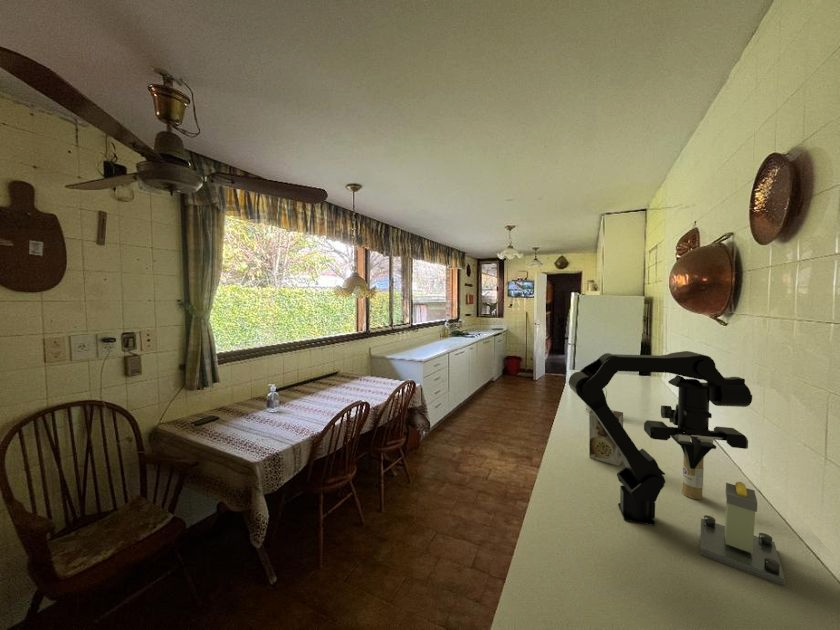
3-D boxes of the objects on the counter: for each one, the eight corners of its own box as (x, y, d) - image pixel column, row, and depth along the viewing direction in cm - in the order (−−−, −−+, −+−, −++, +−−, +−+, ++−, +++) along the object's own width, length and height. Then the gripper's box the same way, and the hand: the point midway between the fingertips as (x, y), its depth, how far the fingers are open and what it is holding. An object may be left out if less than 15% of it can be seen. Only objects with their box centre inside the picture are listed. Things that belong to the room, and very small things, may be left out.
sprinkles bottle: (677, 491, 92) (678, 444, 91) (692, 489, 92) (693, 443, 92) (692, 501, 88) (693, 451, 87) (707, 499, 88) (709, 450, 87)
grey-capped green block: (724, 543, 69) (727, 487, 69) (723, 530, 74) (726, 476, 73) (754, 554, 67) (757, 495, 66) (751, 539, 71) (754, 484, 70)
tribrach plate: (700, 554, 70) (700, 540, 69) (700, 524, 79) (701, 512, 78) (784, 586, 62) (785, 571, 62) (774, 548, 71) (774, 535, 71)
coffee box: (623, 459, 110) (624, 412, 109) (619, 466, 105) (619, 417, 105) (593, 451, 116) (594, 406, 116) (588, 457, 112) (588, 411, 111)
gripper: (723, 398, 83) (721, 457, 84) (637, 392, 89) (636, 448, 90) (750, 412, 73) (748, 481, 74) (652, 405, 79) (650, 468, 80)
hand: (691, 468), depth 80 cm, fingers closed
